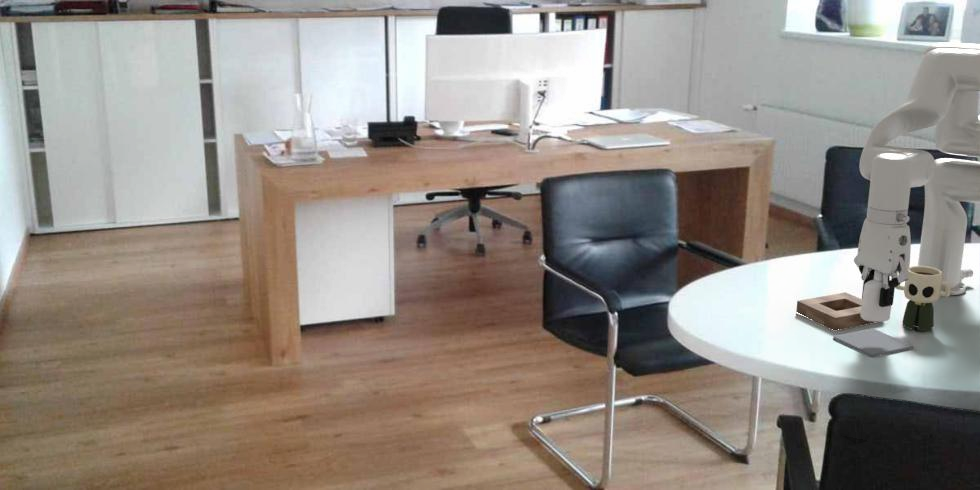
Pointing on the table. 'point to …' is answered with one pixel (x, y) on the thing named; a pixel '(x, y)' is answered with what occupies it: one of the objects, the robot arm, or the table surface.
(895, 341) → the slate mat
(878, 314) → the eye dropper bottle
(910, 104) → the robot arm
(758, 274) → the table surface
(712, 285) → the table surface
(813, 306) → the walnut dock
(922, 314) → the character mug
